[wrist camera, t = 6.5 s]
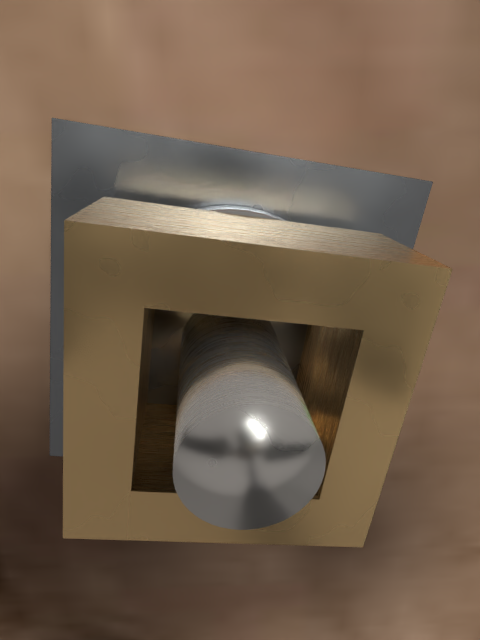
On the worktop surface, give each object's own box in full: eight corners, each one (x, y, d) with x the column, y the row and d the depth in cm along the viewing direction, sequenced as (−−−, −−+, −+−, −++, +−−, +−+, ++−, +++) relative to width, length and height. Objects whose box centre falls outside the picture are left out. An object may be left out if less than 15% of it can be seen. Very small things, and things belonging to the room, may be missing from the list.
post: (339, 459, 17) (432, 664, 10) (56, 440, 15) (-48, 664, 9) (419, 179, 13) (642, 217, 7) (61, 119, 12) (-110, 90, 5)
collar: (324, 454, 14) (363, 547, 11) (95, 440, 13) (62, 538, 10) (380, 233, 12) (452, 268, 8) (103, 196, 11) (64, 220, 7)
